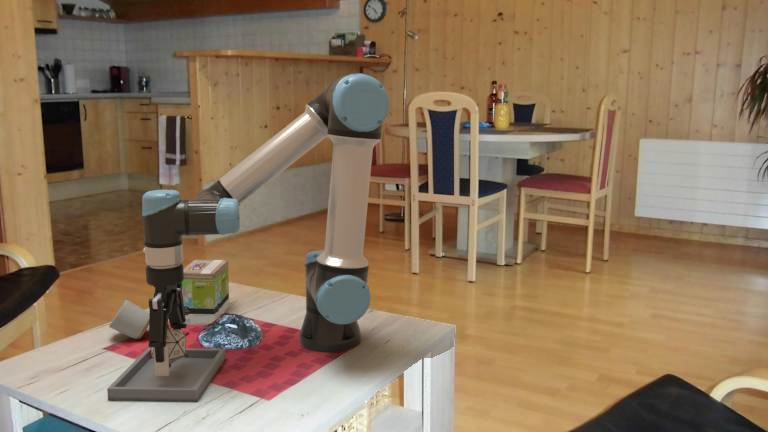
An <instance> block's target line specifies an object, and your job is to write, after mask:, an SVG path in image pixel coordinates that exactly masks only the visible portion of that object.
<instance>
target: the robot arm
mask: <svg viewBox="0 0 768 432" xmlns="http://www.w3.org/2000/svg"><path fill="white" fill-rule="evenodd" d="M304 108H305V110H304V112H303V113H301V114H300V115H299V116H297V117H296V118H295V119H294V120H292V121H291V122H290V123H288V124H287V125H286V126H285V127H284V128H282V129H281V130H280V131H279V132H277V133H276V134H275V135H273V136H272V137H271V138H269V140H267V141H265V143H263V144H262V145H261V146H259V147H258V148H257V149H255V150H254V151H253V152H252V153H250V155H248V156H247V157H245V159H243V160H242V161H240V162H239V163H238V164H236V165H235V166H234V167H233V168H231V169H230V170H229V171H228V172H226V173H225V174H224V175H222V176H221V177H220V178H219V179H218V180H216V181H215V182H214V183H213V184H211V185H210V186H209V187H207V188H204V189H202V190H201V191H200V192H199V193H198V194H197V195H196V197H195V199H183V198H182V197H181V195H180V192H179V191H178V190H175V189H155V190H154V189H153V190H149V191H147V192H145V193H144V194H143V195H142V206H141V208H142V213H141V217H142V218H141V219H142V228H143V229H142V230H143V242H144V243H143V245H144V248H143V249H142V252H143V253H144V255H145V259H144V261H145V264H146V267H145V278H146V279H145V280H146V283H147V285H148V286H152V287H154V293H153V298H149V299H148V309H149V326H148V327H149V328H148V348H151V347H154V361H155V376H169V357H168V345H166V337H167V328H168V325H169V326H170V328H171V329H173V330H176V331H178V332H180V333H183V329H187V326H188V325H187V324H183V323H185V322H186V318H185V311H184V303H183V295H182V281H183V280H184V270H183V269H184V264H183V261H184V249H183V248H184V247H183V239H182V237H183V236H185V237H188V236H189V237H190V236H210V235H211V236H212V235H222V236H225V235H230V234H236V233H238V232H239V231H240V226H241V222H240V221H241V220H240V206H241V205H242V204H244V203H245V202H246V201H247V200H248V199H250V198H251V197H252V196H254V195H255V194H256V193H257V192H259V191H260V190H261V189H262V188H264V187H265V186H266V185H267V184H268V183H270V182H271V181H272V180H274V179H275V178H276V177H278V176H279V175H280V174H281V173H282V172H283V171H285V170H287V168H289V167H290V166H291V165H293V164H294V163H295V162H297V161H298V160H299V159H300V158H302V157H303V156H304V155H305V154H307V153H308V152H309V151H311V150H312V149H313V148H314V147H316V146H317V145H318V144H320V143H321V142H322V141H323V140H324V139H330V140H331V142H332V144H333V148H332V157H331V158H332V160H331V169H330V171H331V172H330V182H329V194H328V195H329V196H328V203H327V204H328V205H327V216H326V217H327V218H326V227H325V229H326V230H325V241H324V249H321V250H320V249H319V250H313V251H309V252H308V253H306V255H305V262H304V267H305V307H306V308H305V309H306V310H305V314H304V318H303V322H302V325H301V329H300V331H299V344H300V346H301V347H303V348H304V349H306V350H309V351H312V352H316V353H328V354H329V353H330V354H331V353H340V352H345V351H348V350H351V349H354V348H356V347H358V346H359V345H360V343H362V331H361V328H360V326H359V322H358V320H360V319H361V318H362V317H363V316H365V314H366V313H367V311H368V309H369V307H370V304H371V291H370V287H369V285H368V279H369V268H370V267H369V265H370V262H369V261H368V259H367V258H366V257H365V256H364V246H365V239H366V238H365V236H366V227H367V213H368V205H369V203H368V202H369V195H370V194H369V193H370V183H371V172H372V162H373V152H374V151H373V150H374V148H375V146H376V145H377V144H379V143H380V142H381V141H382V133H383V132H382V130H383V123H384V122H385V121H386V119H387V116H388V114H389V111H390V98H389V95H388V91H387V89H386V88H385V86H384V85H383V84H382V83H381V82H380V80H378V79H376V78H375V77H373V76H371V75H369V74H365V73H351V74H344V75H341V76H338V77H336V78H335V79H333V80H331V82H330V83H329V84H328V85H327V86H326V87H325V88H324V89H323V90H322V91H321V92H320V93H318V95H316V96H315V97H314V98H313V99H312V100H311V101H309V102H308V103H307V104H305V107H304ZM183 334H184V333H183ZM183 358H184V357H182V358H180V359H183Z"/></svg>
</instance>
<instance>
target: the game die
mask: <svg viewBox="0 0 768 432" xmlns="http://www.w3.org/2000/svg"><path fill="white" fill-rule="evenodd" d="M169 326H170V324H168V328H167V337H166V345H168V357H169V367H171V363H173V362H175V361H177V360H178V359H180V358H182V357H184V356H186V357H189V356H188V355H186V349H187V336H189V335H190V332H186V333H180V332H178V331H176V330H173V328H171V327H169ZM150 348H151V357H149V358H148V359H151V358H154V347H150Z"/></svg>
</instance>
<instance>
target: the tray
mask: <svg viewBox="0 0 768 432" xmlns="http://www.w3.org/2000/svg"><path fill="white" fill-rule="evenodd" d="M186 355H188V356H189V357H186V356H184V358H183V359H178V360H177V361H175V362H173V363H171V367H169V376H155V361H154V358H151V359H148V358H149V357H151V347H147V348H146V349H145V350H144V351H143V352H142V353H141V354H140V355H139V356H138V357H137V358H136V359H135V360H134V361H133V362H132V363H131V364H130V365H129V366H128V367H127V368H126V369H125V370H124V371H123V372H122V373H121V374H120V375H119V376H118V377H117V378H116V379H115V381H114V382H112V384H110V385H109V386H108V387H107V389H106V391H107V401H108V402H109V401H110V402H112V401H113V402H115V401H119V402H125V401H126V402H127V401H128V402H169V403H170V402H176V403H177V402H178V403H181V402H182V403H183V402H184V403H198V401H199V400H200V398H201V397H202V395H203V393H204V392H205V391H206V389H207V388H208V387H209V385H210V383H211V381H213V379H214V378H215V375H216V374H217V373H218V371H219V370H220V369H221V367H222V365H223V364H222V363H224V362H225V361H226V359H225V358H226V348H186ZM224 360H225V361H224ZM223 361H224V362H223ZM221 364H222V365H221ZM220 366H221V367H220Z"/></svg>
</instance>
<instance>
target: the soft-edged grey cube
mask: <svg viewBox="0 0 768 432" xmlns="http://www.w3.org/2000/svg"><path fill="white" fill-rule="evenodd" d="M149 314H150V312H148V311H146V310H145V309H143V308H142V307H140V306H138V305H136V304H134V303H133V302H132V301H130V300H128V299H125V300H124V301H123V302H122V304H121V305H120V307H119V308H118V311H117V312H116V314H115V316H114V317H113V318H112V320H111V321H110V323H109V325H108V327H109V328H110V329H112V330H115V331H117V332H119V333H121V334H122V335H125V336H127V337H129V338H131V339H133V340H140V339H141V338H142V337H143V335H144V334H145V332H146V330H147V329H148V327H149Z"/></svg>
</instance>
